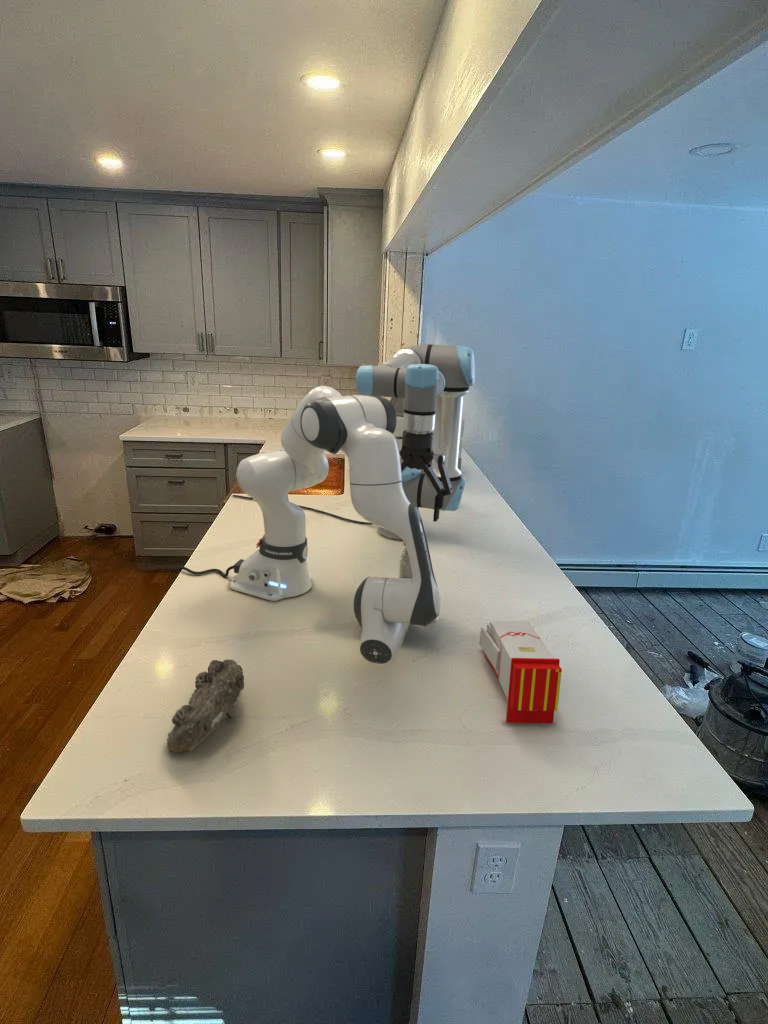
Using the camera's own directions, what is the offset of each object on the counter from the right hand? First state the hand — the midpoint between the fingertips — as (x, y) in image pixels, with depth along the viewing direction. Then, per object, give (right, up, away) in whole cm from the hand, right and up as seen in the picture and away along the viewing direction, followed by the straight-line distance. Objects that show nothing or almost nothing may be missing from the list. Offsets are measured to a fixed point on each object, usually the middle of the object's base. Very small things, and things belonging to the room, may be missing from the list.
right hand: (412, 516), depth 143 cm
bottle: (-1, -24, +9) cm, 26 cm away
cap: (0, -6, +2) cm, 6 cm away
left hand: (-2, -19, +3) cm, 20 cm away
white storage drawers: (+10, +20, +132) cm, 133 cm away
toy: (+20, -36, -21) cm, 46 cm away
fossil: (-40, -38, -35) cm, 66 cm away
